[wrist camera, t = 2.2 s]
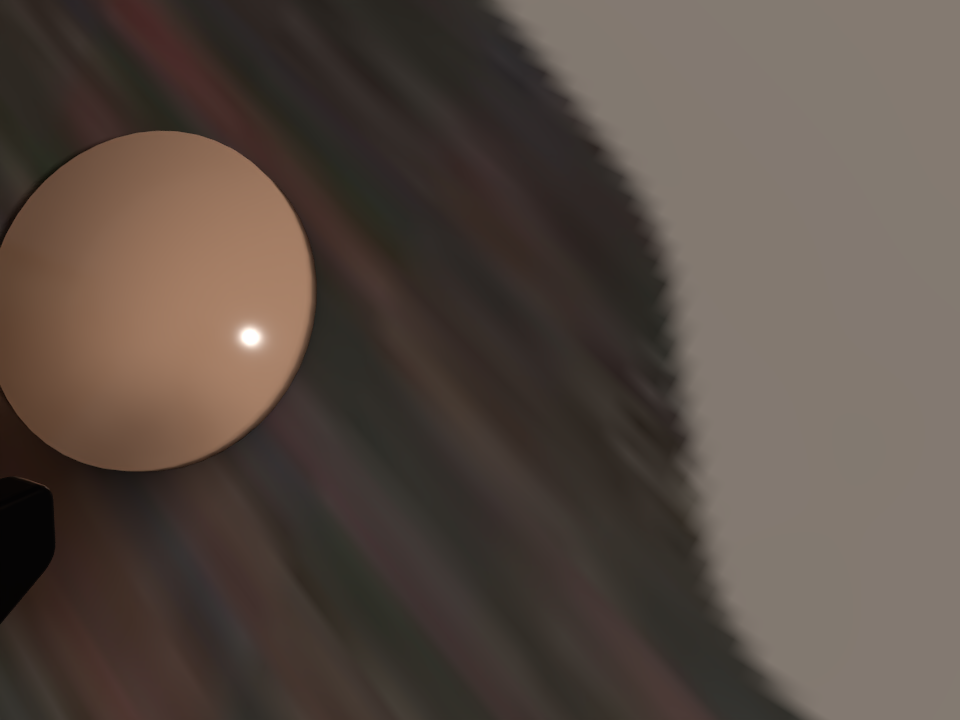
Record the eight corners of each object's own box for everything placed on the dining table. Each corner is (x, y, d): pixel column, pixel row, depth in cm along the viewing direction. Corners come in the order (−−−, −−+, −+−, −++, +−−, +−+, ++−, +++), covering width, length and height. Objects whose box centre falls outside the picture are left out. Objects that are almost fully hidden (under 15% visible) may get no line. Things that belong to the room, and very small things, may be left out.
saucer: (-49, 388, 26) (-69, 385, 26) (96, 97, 27) (80, 85, 26) (223, 530, 24) (209, 531, 23) (373, 210, 25) (364, 201, 24)
